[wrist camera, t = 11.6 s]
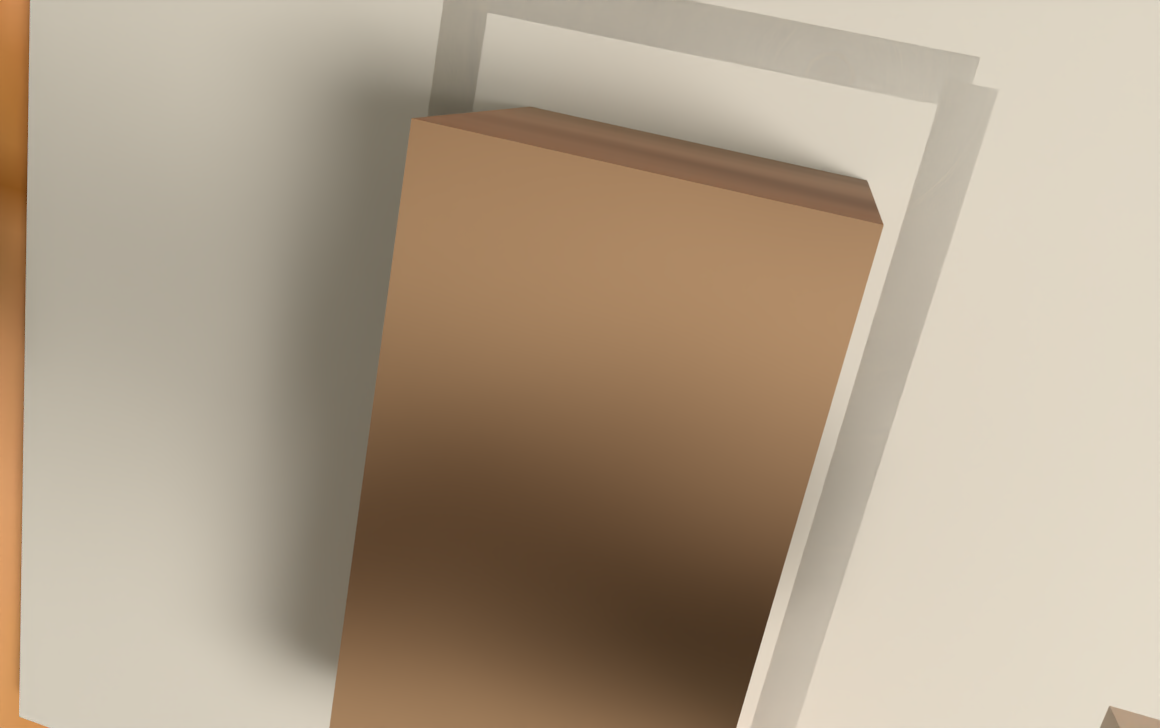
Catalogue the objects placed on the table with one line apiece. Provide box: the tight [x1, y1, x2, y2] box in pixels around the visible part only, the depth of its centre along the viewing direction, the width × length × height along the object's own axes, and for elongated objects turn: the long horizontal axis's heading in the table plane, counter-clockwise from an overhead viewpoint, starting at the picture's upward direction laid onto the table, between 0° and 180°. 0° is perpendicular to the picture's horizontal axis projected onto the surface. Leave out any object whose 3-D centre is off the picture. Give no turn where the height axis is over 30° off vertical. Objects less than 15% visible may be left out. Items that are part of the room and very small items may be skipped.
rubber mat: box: [19, 0, 1160, 728], centre depth 16 cm, size 22×18×1 cm
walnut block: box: [329, 107, 884, 728], centre depth 14 cm, size 11×5×4 cm, turn 169°
